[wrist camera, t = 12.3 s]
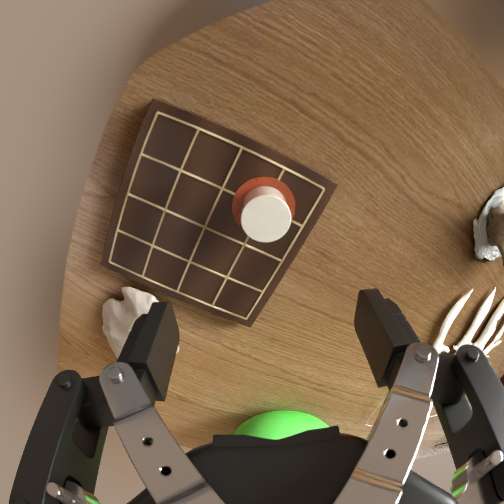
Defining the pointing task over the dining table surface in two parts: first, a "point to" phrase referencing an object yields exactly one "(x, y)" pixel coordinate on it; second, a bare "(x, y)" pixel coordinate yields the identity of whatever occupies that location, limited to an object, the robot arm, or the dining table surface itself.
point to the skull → (490, 229)
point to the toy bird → (279, 424)
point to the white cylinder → (265, 214)
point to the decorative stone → (124, 316)
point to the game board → (206, 213)
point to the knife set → (479, 317)
